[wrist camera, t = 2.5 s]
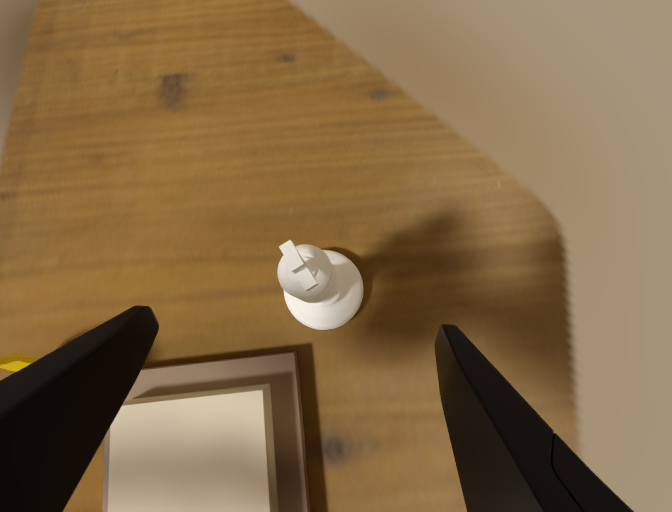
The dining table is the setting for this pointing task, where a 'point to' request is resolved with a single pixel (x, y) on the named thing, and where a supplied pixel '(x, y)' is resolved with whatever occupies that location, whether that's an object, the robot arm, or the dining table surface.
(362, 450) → the dining table surface
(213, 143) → the dining table surface
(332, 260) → the chess piece
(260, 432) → the build base
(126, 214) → the dining table surface
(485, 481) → the robot arm
